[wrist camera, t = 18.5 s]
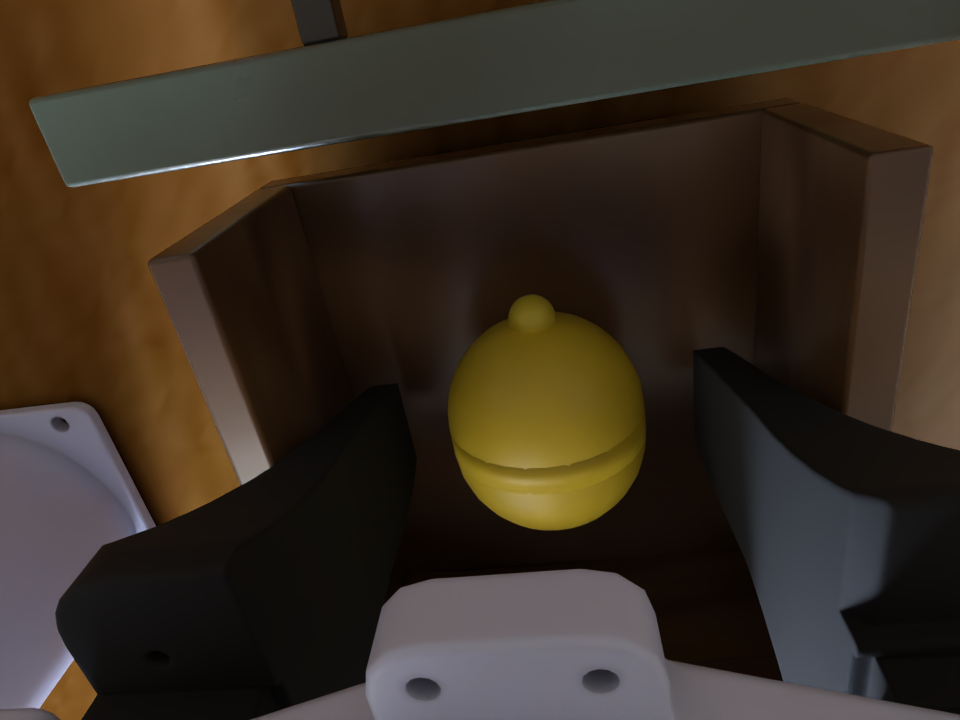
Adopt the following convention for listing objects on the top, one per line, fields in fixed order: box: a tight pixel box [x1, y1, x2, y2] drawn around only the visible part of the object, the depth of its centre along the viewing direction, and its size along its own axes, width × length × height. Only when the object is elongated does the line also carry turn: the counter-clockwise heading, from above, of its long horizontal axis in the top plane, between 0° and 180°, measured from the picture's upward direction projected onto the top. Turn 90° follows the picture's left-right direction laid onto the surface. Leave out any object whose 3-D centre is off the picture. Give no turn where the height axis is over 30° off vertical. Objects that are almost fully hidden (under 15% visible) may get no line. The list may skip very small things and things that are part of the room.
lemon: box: [448, 294, 646, 530], centre depth 14 cm, size 6×4×4 cm
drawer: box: [29, 0, 960, 661], centre depth 12 cm, size 20×12×6 cm, turn 10°
